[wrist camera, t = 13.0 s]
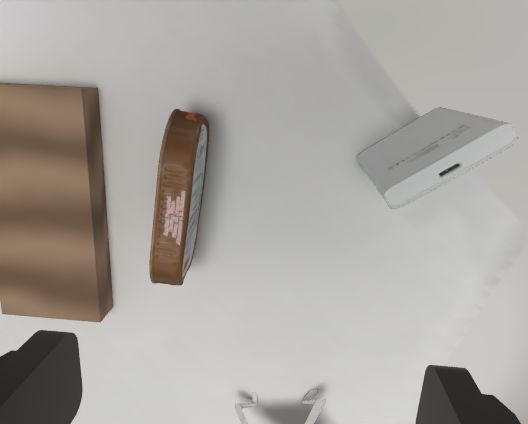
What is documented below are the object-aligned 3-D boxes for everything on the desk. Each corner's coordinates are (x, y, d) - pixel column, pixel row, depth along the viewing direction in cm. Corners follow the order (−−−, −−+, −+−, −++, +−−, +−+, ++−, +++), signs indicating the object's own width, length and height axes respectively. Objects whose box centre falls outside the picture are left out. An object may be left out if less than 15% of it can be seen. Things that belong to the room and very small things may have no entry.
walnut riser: (-10, 82, 39) (-35, 82, 36) (97, 88, 38) (81, 88, 35) (21, 299, 45) (2, 314, 42) (112, 306, 45) (100, 322, 42)
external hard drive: (449, 121, 36) (521, 142, 25) (363, 171, 38) (392, 212, 26) (440, 105, 36) (509, 118, 24) (354, 155, 38) (379, 190, 26)
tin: (184, 105, 38) (154, 112, 30) (219, 111, 38) (198, 120, 30) (168, 258, 42) (138, 299, 34) (199, 263, 42) (176, 307, 34)
